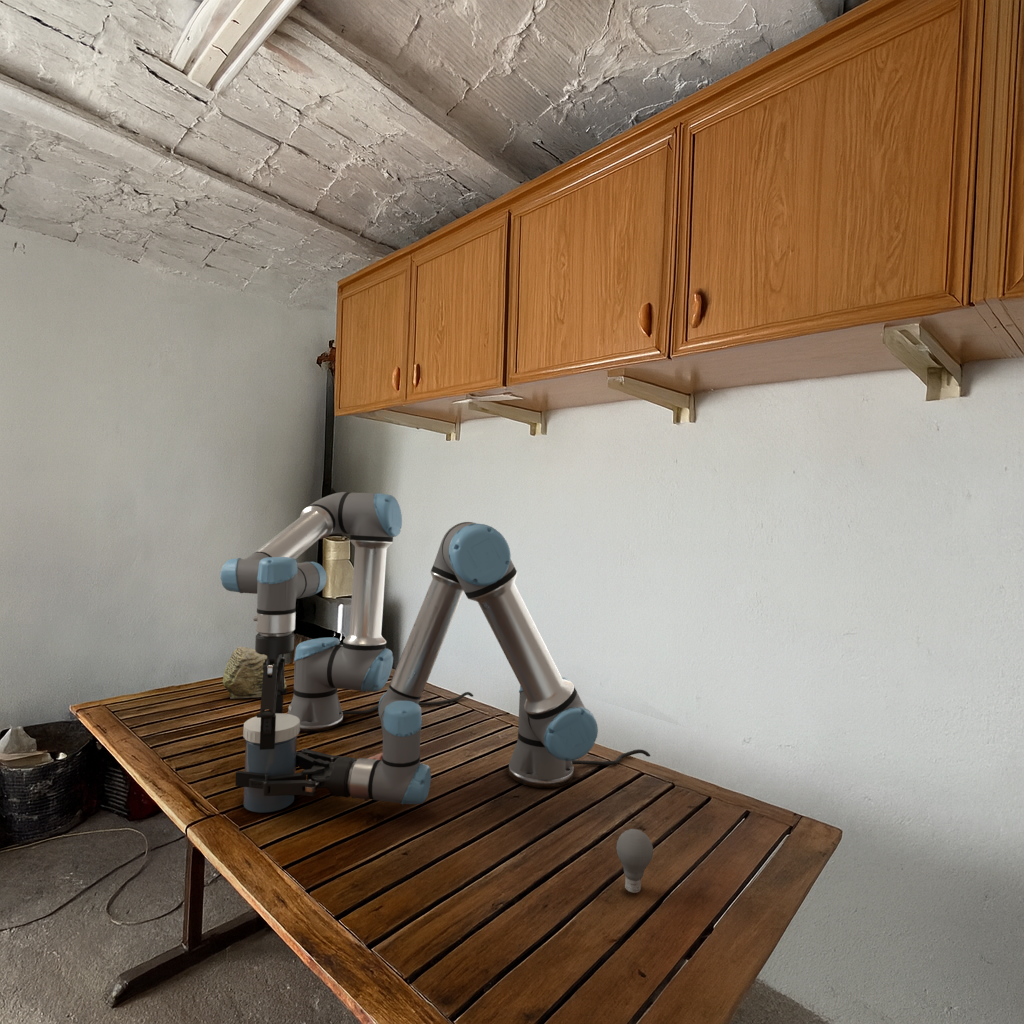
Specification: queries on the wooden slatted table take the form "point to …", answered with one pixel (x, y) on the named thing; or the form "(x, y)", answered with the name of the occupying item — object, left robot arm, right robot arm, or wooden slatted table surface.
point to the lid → (284, 728)
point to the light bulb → (634, 857)
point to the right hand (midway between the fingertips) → (250, 767)
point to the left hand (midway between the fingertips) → (271, 736)
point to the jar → (274, 764)
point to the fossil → (245, 673)
